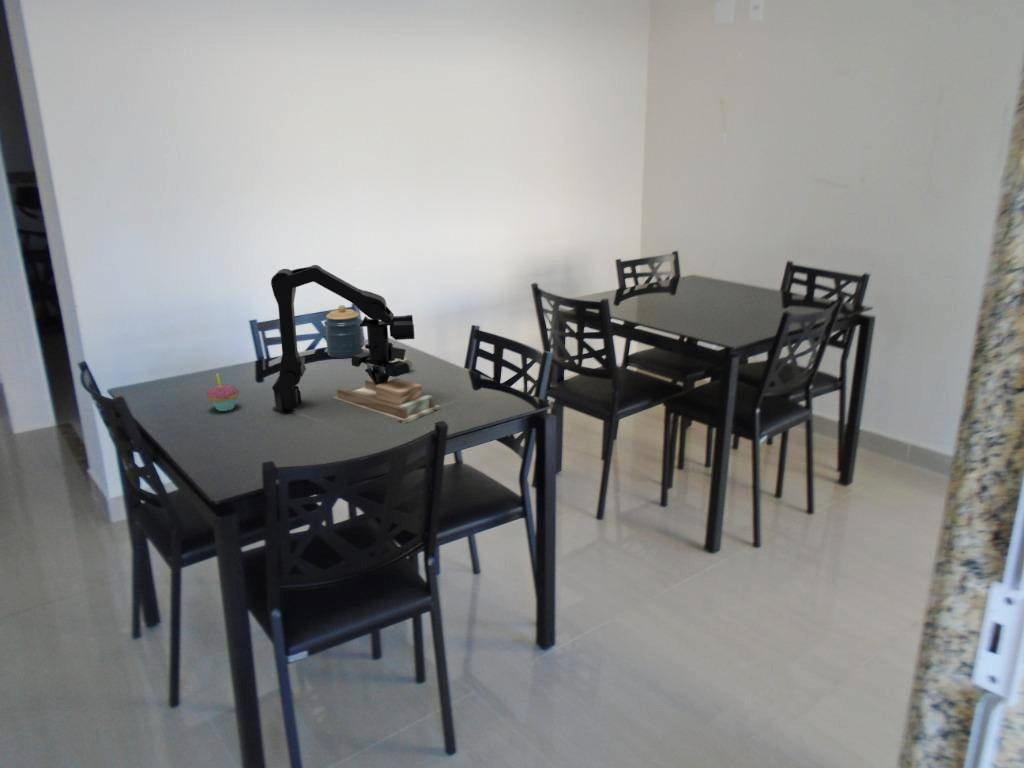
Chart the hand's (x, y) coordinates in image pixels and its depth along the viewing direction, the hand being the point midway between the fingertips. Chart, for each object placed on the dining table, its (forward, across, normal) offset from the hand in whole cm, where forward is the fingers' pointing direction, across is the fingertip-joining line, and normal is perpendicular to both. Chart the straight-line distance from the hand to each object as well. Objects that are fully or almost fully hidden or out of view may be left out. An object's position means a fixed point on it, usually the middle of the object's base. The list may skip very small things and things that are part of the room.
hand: (382, 392), depth 214 cm
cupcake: (+4, +34, +30) cm, 45 cm away
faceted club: (+4, +26, -26) cm, 37 cm away
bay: (+4, -1, 0) cm, 4 cm away
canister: (+4, +50, -27) cm, 57 cm away
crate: (+3, -7, 0) cm, 8 cm away
